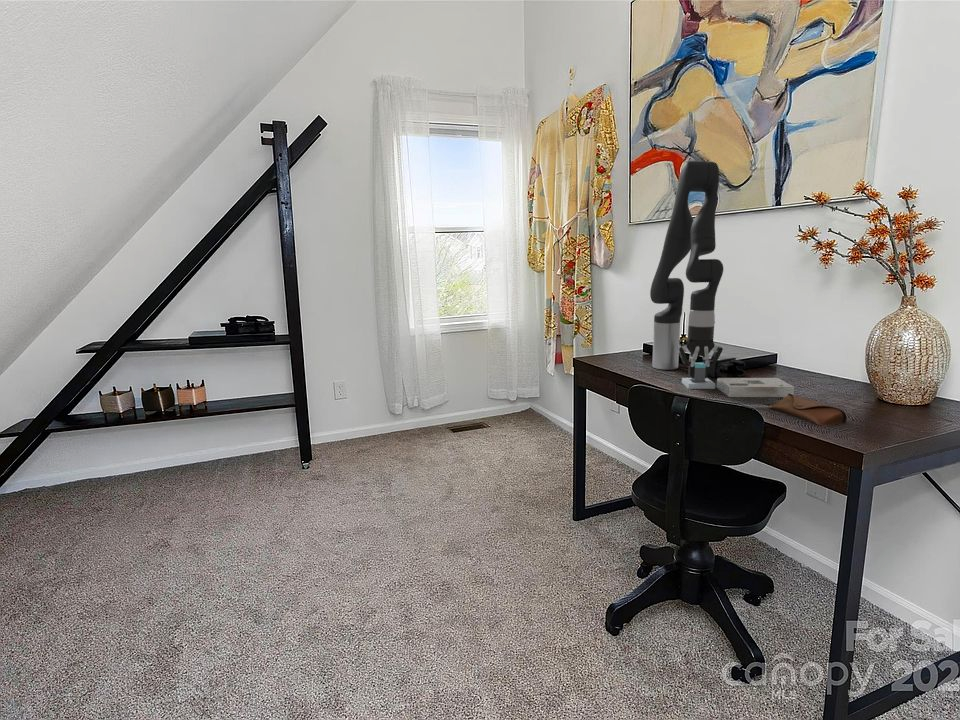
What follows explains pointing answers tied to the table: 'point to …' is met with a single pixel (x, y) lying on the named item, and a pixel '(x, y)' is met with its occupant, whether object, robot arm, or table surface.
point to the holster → (698, 384)
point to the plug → (699, 373)
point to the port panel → (754, 387)
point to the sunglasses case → (810, 410)
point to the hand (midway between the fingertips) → (698, 377)
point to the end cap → (727, 368)
